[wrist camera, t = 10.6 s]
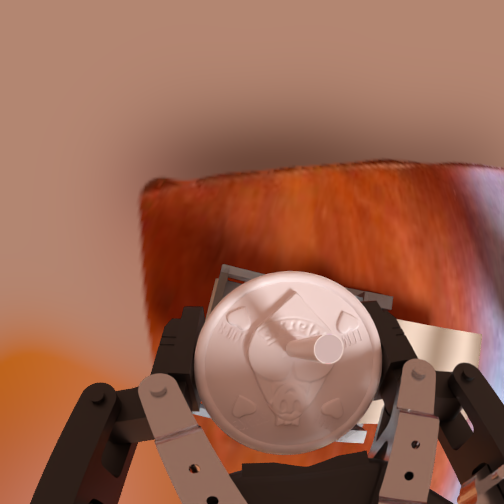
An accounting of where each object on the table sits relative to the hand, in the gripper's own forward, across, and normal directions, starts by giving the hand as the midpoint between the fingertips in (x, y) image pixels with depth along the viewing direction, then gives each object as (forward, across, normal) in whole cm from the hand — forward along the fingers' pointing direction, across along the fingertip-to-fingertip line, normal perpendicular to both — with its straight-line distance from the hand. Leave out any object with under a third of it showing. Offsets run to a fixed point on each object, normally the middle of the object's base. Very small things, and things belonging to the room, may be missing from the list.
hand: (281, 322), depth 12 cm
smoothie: (+4, 0, +6) cm, 7 cm away
